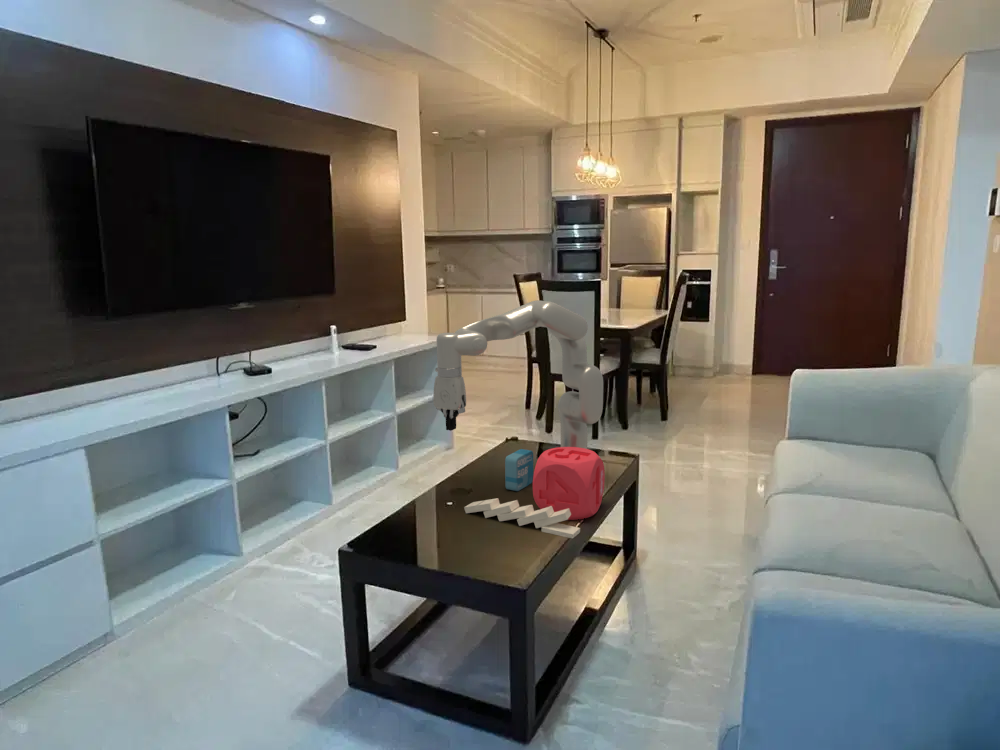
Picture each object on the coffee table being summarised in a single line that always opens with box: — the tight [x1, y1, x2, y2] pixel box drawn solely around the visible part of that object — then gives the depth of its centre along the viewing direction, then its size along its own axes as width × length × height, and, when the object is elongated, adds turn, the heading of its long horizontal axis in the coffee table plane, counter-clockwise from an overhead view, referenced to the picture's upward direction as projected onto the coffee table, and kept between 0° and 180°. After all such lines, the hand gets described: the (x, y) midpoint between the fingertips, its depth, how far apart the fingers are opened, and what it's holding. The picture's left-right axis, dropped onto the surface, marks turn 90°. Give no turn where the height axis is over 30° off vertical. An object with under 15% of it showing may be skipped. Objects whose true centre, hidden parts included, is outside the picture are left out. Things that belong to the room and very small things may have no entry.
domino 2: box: [482, 499, 520, 519], centre depth 204 cm, size 2×5×10 cm
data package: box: [504, 448, 534, 492], centre depth 231 cm, size 12×4×12 cm, turn 148°
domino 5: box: [533, 508, 571, 529], centre depth 195 cm, size 2×5×10 cm
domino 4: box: [516, 506, 554, 527], centre depth 197 cm, size 2×5×10 cm
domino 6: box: [541, 522, 581, 539], centre depth 193 cm, size 2×5×10 cm
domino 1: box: [463, 497, 501, 514], centre depth 207 cm, size 2×5×10 cm
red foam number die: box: [532, 446, 606, 521], centre depth 209 cm, size 18×18×18 cm
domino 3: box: [496, 504, 535, 522], centre depth 201 cm, size 2×5×10 cm
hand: (451, 429), depth 211 cm, fingers closed
